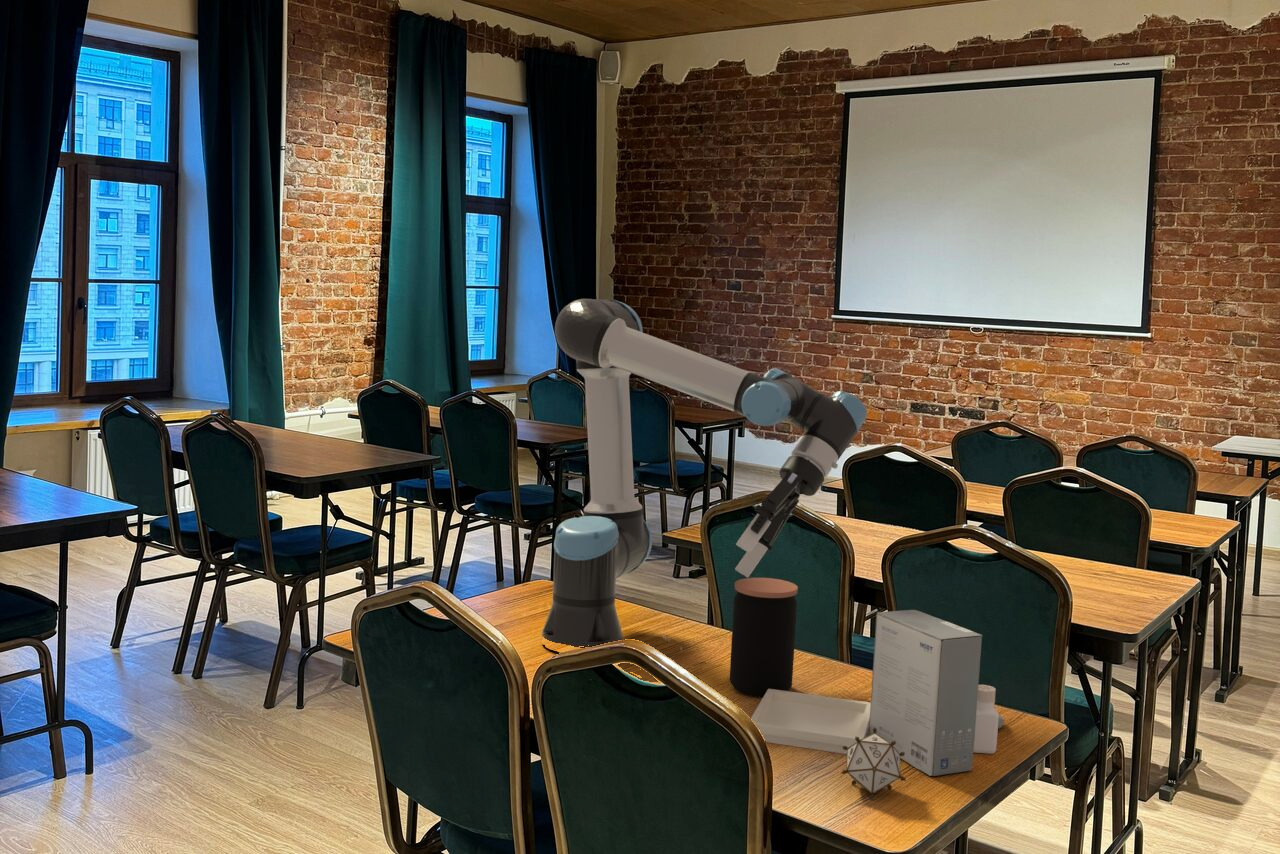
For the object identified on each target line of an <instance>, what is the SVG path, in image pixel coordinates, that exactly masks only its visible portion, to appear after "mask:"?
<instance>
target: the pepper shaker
mask: <svg viewBox="0 0 1280 854" xmlns="http://www.w3.org/2000/svg"><path fill="white" fill-rule="evenodd" d="M996 690H997V689H996V688H995V687H994V686H991V685H988V684H978V697H977V711H976V725H975V738H974V751H973V753H974V754H975V753H977V754H991V755H992V754H995V753H996V751H997V743H998V729H999V728H998V720H999V715H1000V714H999V712H998V710H997V709H996V707H995V708H994V706H995V703H996Z"/></svg>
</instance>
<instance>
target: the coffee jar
mask: <svg viewBox="0 0 1280 854" xmlns="http://www.w3.org/2000/svg"><path fill="white" fill-rule="evenodd" d="M734 590H735V591H736V593H735V595H734V598H733V609H732V612H733V613H732V629H731V645H730V646H731V647H730V648H731V649H730V663H729V664H730V666H729V682H730V684H731V685H732V688H733V689H734V691H736V693H739V694H741V695H745V696H748V697H754V698H761V699H763V697H764V695H765V694H766V692H767V690H768V689H775V690H782V691H790V690H791V688H793V676H794V675H793V674H794V660H795V659H794V658H795V642H796V641H795V640H796V626H797V625H796V624H797V610H798V609H797V607H798V601H797V599H796V597H795V596H796V595H797V594H798V592H799V591H798V590H799V586H798V585H796V584H795V583H793V582H791V581H787V580H783V579H779V578H772V577H748V578H747V577H745V578H741V579H737V580H736V581H735V582H734Z"/></svg>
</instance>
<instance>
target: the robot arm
mask: <svg viewBox="0 0 1280 854" xmlns="http://www.w3.org/2000/svg"><path fill="white" fill-rule="evenodd" d="M643 331H644V329H643V325H642V321H641V319H640V317H639V315H638V314H637V312H636V311H635V310H634V309H633V308H632V307H631V306H629V305H627V304H626V303H624V302H621V301H619V300H616V299H607V298H605V299H593V298H580V299H576V300H573V301H572V302H570V303H568V304H567V305H565V306H564V307H563V308H562V310H560V312H559V314H558V315H557V317H556V321H555V326H554V334H555V338H556V342H557V344H558V346H559V348H560V349H561V350H562V352H564V354H566V355H567V356H569V357H570V358H572V359H573V360H575V361H576V372H577V373H579V374H580V375H581V376H582V377H583V378H584V385H585V387H584V388H585V406H586V407H585V408H586V422H587V423H586V425H587V444H588V447H587V448H588V465H589V467H588V468H589V484H590V485H589V486H590V487H589V489H590V500H589V502H588V503H587V505H585V507H584V508H583V516H579V517H571V518H568V519H565V520H564V521H562V522H561V523H559V524H558V526H557V527H556V530H555V537H554V541H553V550H554V551H553V552H554V554H553V555H554V556H553V583H552V584H553V585H552V586H553V587H552V602H551V603H552V604H551V607H550V610H549V613H548V615H547V618H546V621H545V624H544V627H543V629H542V633H541V637H542V636H543V637H544V638H545V639H547V640H549V641H552V642H555V643H561V644H566V645H571V646H574V647H579V646H584V647H580V648H585V647H592V646H596V645H600V644H604V643H608V642H613V641H618V640H622V639H623V636H624V635H623V630H622V627H621V624H620V620H619V619H620V618H619V616H618V613H617V609H616V608H617V607H616V604H615V603H616V582H617V579H618V578H620V577H623V576H624V575H627V574H630V573H632V572H634V571H635V570H637V569H638V568H639V567H640V566H641V565H642V564H643V563H644V562H646V560H647V559H648V557H649V555H650V553H651V550H652V545H653V535H652V531H651V530H652V529H651V528H650V526H649V524H648V523H647V522H646V520H645V519H644V514H643V513H644V511H643V509H644V508H643V505H642V504H641V503H640V502H639V501H638V500H637V499H636V498H635V483H634V482H635V481H634V480H635V479H634V463H633V462H634V460H633V441H632V423H631V422H632V421H631V419H632V418H631V399H630V397H631V396H630V381H629V379H630V375H632V374H633V375H635V376H639V377H642V378H643V379H647V380H649V381H652V382H654V383H656V384H657V383H658V384H660V385H663V386H666V387H668V388H670V389H673V390H675V391H679V392H681V393H684V394H686V395H689V396H691V397H694V398H696V399H700V400H703V401H705V402H708V403H710V404H713V405H715V406H718V407H721V408H723V409H726V410H729V411H730V412H731V411H732V412H733V413H736V414H739V415H740V416H743V417H745V418H746V419H747V420H748V421H749V422H750V423H752V424H754V425H756V426H759V427H760V426H761V427H772V426H775V425H778V424H780V423H782V422H783V423H784V422H788V423H790V424H792V425H793V426H795V427H797V428H799V430H801V431H803V432H805V434H804V435H803V436H802V437H801V439H800V440H799V442H798V443H797V444H796V445H795V447H794V448H793V450H792V451H791V456H788V458H787V459H786V460H785V462H784V463H783V465H782V466H781V468H780V469H779V477H780V478H781V480H780V481H779V483H778V484H777V485H776V486H775V488H773V490H771V492H770V493H769V494H767V496H766V497H765V498H764V500H762V501H761V504H757V505H756V507H755V508H754V511H756V512H757V513H756V514H755V516H754V517H753V519H752V520H751V522H750V523H749V524H748V526H747V527H746V529H745V530H744V531H743V533H742V534H741V536H740V537H739V538H738V540H737V542H736V543H735V546H737V547H738V548H740V549H742V550H744V551H745V554H744V555H743V556H742V558H741V560H740V561H739V563H738V564H737V565H736V567H735V568H734V570H735V571H736V572H738V573H739V574H741V575H742V576H744V577H745V578H750V576H751V574H752V572H753V571H754V570H755V568H756V567H757V566H758V565H759V562H760V561H761V560H762V558H763V557H764V556H765V554H766V553H767V551H769V552H770V553H771V552H772V551H773V549H774V547H773V544H774V543H775V541H776V539H777V538H778V536H779V534H780V533H781V531H782V530H783V527H784V526H785V524H786V522H787V521H788V519H789V518H790V516H791V514H792V513H793V511H794V510H795V509H796V508H797V506H798V504H799V502H800V500H799V498H800V497H801V495H804V496H807V497H812V496H814V495H815V494H816V493H817V492H818V490H819V489H820V487H821V486H822V484H823V483H824V482H825V478H827V477H828V475H829V474H830V472H831V471H832V469H834V470H836V469H837V468H838V465H839V464H838V463H837V462H838V461H839V460H840V458H841V457H842V456H843V454H844V452H845V451H846V450H847V449H848V447H849V445H851V443H852V441H853V440H854V438H855V437H856V436H857V434H858V433H859V430H860V429H861V427H862V425H863V423H864V422H865V420H866V419H867V416H868V411H867V407H866V405H865V404H864V403H863V401H862V400H860V398H858V397H857V396H855V395H854V394H853V393H850V392H846V391H845V390H838V391H834V393H833V394H832V395H830V396H827V395H825V394H823V393H821V392H819V391H818V390H816V389H814V388H812V387H811V386H809V385H808V384H805V383H804V382H802V381H801V380H799V379H797V378H795V377H794V376H793V375H792V374H790V373H787V372H785V371H784V370H781V369H779V368H778V367H777V368H776V367H773V368H771V369H769V370H768V372H766V373H765V374H764V375H763V376H762V375H759V374H756V373H753V372H750V371H748V370H746V369H742V368H739V367H736V366H735V365H731V364H729V363H727V362H723V361H720V360H719V359H715V358H713V357H710V356H707V355H704V354H701V353H699V352H696V351H694V350H691V349H688V348H685V347H682V346H680V345H677V344H676V343H672V342H669V341H666V340H663V339H661V338H658V337H656V336H653V335H650V334H648V333H644V332H643ZM588 645H589V646H588Z"/></svg>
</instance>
